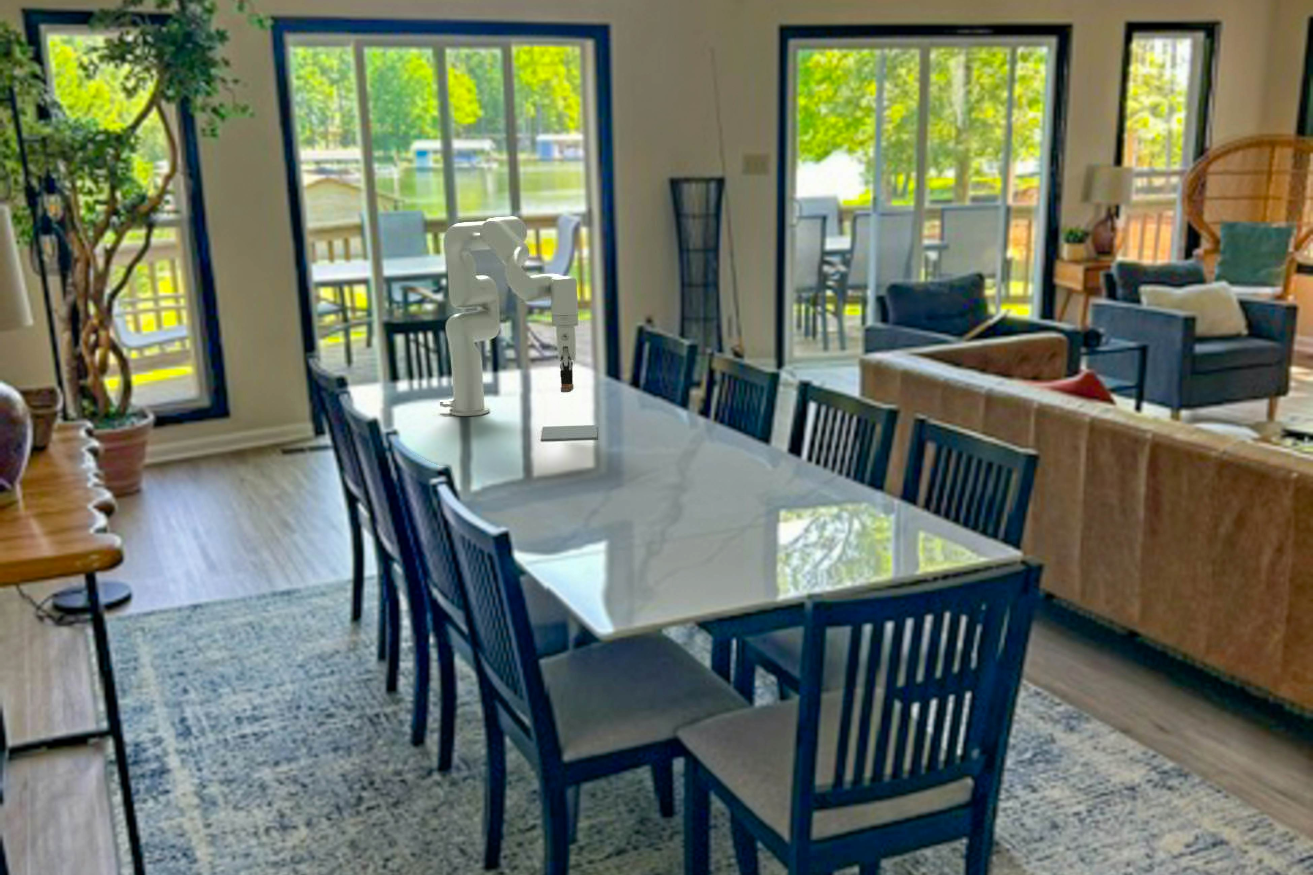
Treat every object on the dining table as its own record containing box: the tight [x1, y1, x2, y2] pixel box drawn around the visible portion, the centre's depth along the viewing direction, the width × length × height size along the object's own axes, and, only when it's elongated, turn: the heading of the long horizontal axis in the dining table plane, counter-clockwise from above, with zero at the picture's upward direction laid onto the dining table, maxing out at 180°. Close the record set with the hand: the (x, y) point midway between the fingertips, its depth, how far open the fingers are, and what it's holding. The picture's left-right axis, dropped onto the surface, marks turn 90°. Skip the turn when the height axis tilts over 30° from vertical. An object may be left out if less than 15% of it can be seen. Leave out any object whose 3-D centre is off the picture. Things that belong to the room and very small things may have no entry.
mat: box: [540, 424, 598, 442], centre depth 329 cm, size 16×15×1 cm
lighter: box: [559, 361, 575, 394], centre depth 324 cm, size 8×3×10 cm, turn 174°
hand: (567, 380), depth 325 cm, fingers closed on lighter, 8 cm apart
